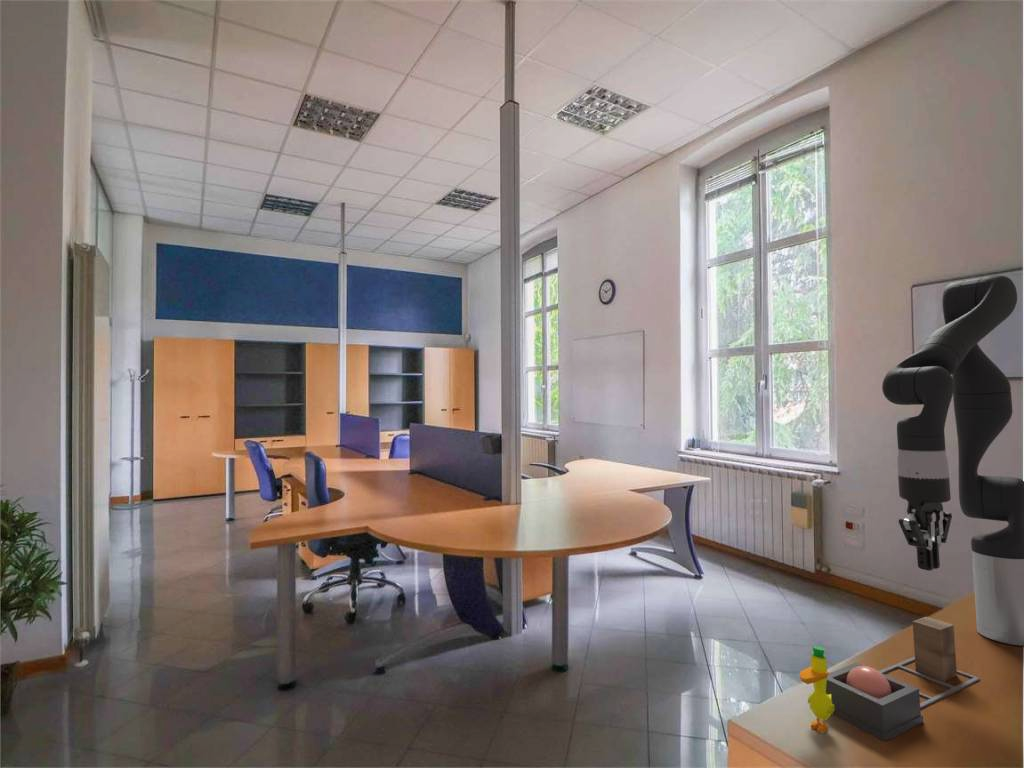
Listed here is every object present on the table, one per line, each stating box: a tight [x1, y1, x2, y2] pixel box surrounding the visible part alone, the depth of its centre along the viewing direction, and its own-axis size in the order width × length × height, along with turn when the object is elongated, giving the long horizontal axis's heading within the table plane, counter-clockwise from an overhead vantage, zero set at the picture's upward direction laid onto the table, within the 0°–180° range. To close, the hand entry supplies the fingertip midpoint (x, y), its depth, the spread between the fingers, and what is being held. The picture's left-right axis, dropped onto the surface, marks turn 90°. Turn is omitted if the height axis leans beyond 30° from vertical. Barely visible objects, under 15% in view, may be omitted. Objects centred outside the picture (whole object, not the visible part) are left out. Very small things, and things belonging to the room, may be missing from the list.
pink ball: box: [846, 665, 892, 699], centre depth 84 cm, size 6×6×6 cm
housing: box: [826, 662, 924, 742], centre depth 84 cm, size 10×10×5 cm
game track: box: [878, 656, 981, 710], centre depth 92 cm, size 22×10×1 cm, turn 116°
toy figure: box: [798, 645, 834, 734], centre depth 80 cm, size 7×4×12 cm, turn 116°
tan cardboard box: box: [912, 616, 958, 683], centre depth 96 cm, size 4×4×9 cm
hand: (929, 568), depth 96 cm, fingers closed
